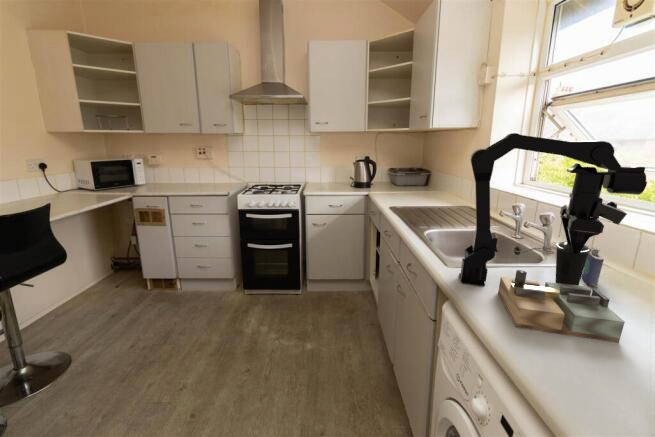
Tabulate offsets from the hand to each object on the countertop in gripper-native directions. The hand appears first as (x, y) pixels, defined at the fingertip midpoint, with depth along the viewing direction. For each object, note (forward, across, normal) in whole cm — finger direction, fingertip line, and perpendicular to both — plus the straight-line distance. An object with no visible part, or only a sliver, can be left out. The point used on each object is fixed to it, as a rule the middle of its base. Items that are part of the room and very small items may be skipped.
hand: (572, 248), depth 84 cm
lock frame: (+14, -14, +4) cm, 20 cm away
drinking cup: (+14, +3, -1) cm, 14 cm away
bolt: (+9, -15, +8) cm, 19 cm away
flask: (+14, +15, -9) cm, 22 cm away
